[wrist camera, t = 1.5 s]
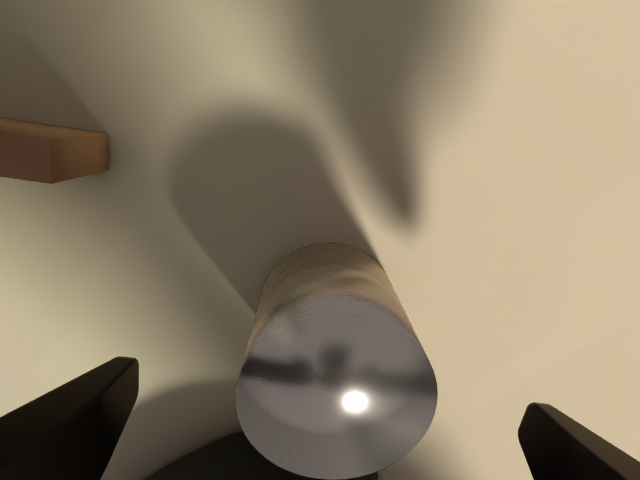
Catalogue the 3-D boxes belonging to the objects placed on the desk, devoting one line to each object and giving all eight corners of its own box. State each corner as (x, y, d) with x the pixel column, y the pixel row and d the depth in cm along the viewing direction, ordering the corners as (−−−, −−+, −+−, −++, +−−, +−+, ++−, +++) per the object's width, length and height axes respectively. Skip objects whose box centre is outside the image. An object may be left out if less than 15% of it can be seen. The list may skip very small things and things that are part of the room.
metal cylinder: (379, 368, 13) (412, 487, 9) (255, 354, 13) (227, 470, 9) (406, 252, 12) (460, 327, 8) (269, 234, 12) (245, 301, 7)
